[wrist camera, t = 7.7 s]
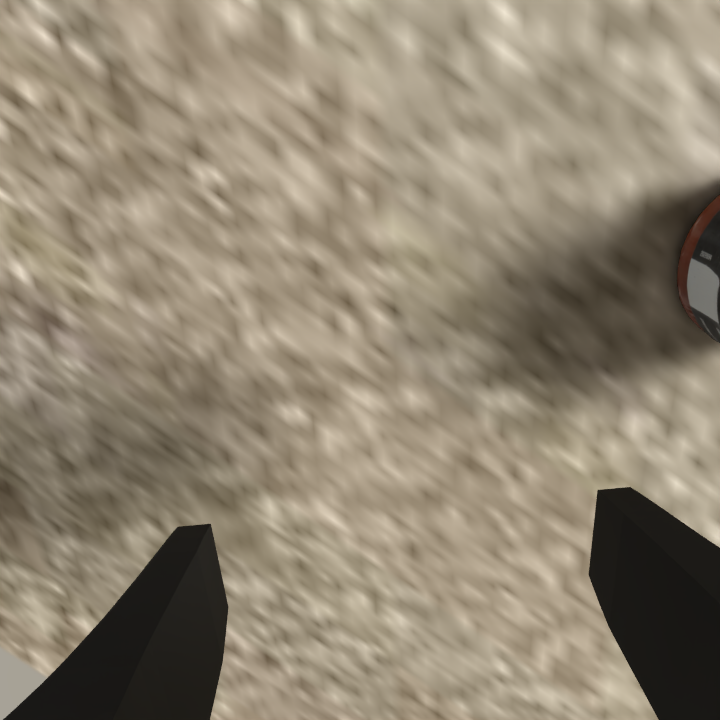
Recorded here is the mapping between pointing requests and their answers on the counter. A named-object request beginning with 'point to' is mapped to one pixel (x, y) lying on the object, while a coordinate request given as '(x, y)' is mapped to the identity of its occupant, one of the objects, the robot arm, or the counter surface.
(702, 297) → the supplement bottle
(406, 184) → the counter surface
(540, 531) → the counter surface
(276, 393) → the counter surface
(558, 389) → the counter surface
